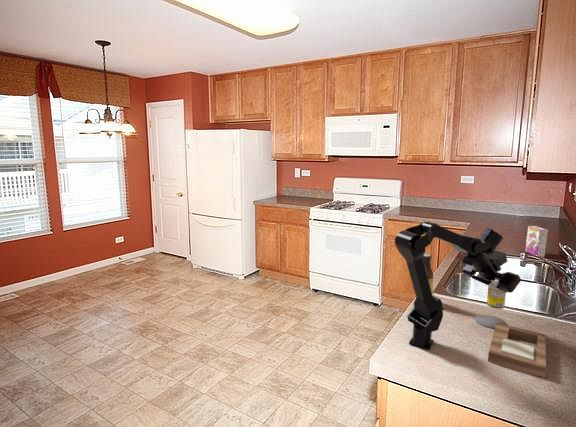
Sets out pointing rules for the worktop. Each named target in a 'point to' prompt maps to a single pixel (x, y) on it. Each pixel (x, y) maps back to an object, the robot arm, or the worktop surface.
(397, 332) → the worktop surface
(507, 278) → the robot arm
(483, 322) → the rubber mat
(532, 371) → the puzzle board
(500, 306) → the supplement bottle
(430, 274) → the sauce bottle
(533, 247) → the candy bar box
